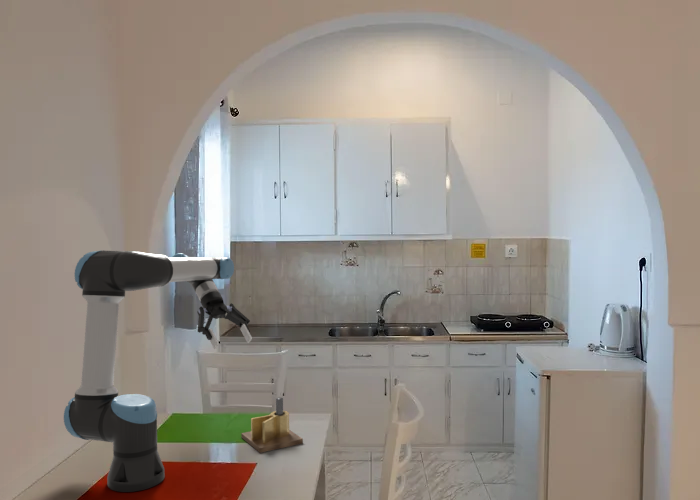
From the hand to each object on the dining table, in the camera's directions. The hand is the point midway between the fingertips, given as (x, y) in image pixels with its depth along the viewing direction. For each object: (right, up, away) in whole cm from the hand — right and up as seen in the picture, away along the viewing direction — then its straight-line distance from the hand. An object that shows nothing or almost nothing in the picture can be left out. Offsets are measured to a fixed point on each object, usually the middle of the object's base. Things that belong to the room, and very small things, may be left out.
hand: (233, 343), depth 206 cm
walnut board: (+14, -31, -9) cm, 35 cm away
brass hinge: (+15, -29, -11) cm, 34 cm away
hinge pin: (+17, -29, -7) cm, 34 cm away
